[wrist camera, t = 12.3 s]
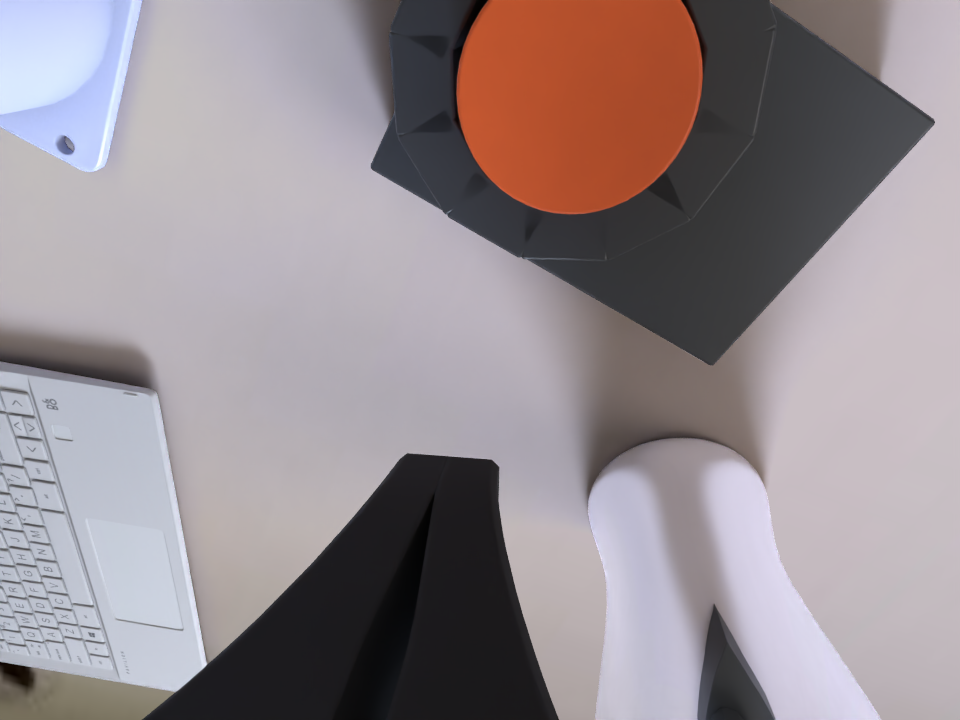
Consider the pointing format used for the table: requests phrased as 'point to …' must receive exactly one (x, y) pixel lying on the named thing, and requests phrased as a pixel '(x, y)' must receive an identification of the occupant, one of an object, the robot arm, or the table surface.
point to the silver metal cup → (705, 597)
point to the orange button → (578, 97)
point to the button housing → (673, 170)
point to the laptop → (91, 533)
